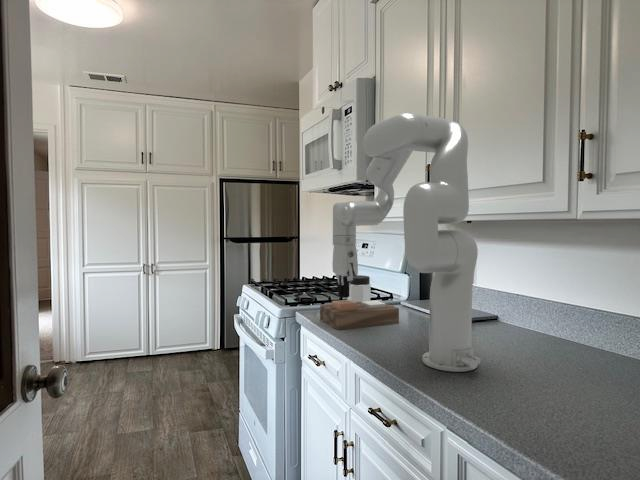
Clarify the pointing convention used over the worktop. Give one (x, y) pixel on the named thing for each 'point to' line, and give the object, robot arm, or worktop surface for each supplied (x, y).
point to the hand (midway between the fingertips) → (343, 296)
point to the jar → (359, 289)
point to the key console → (359, 316)
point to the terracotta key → (344, 305)
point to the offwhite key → (373, 304)
